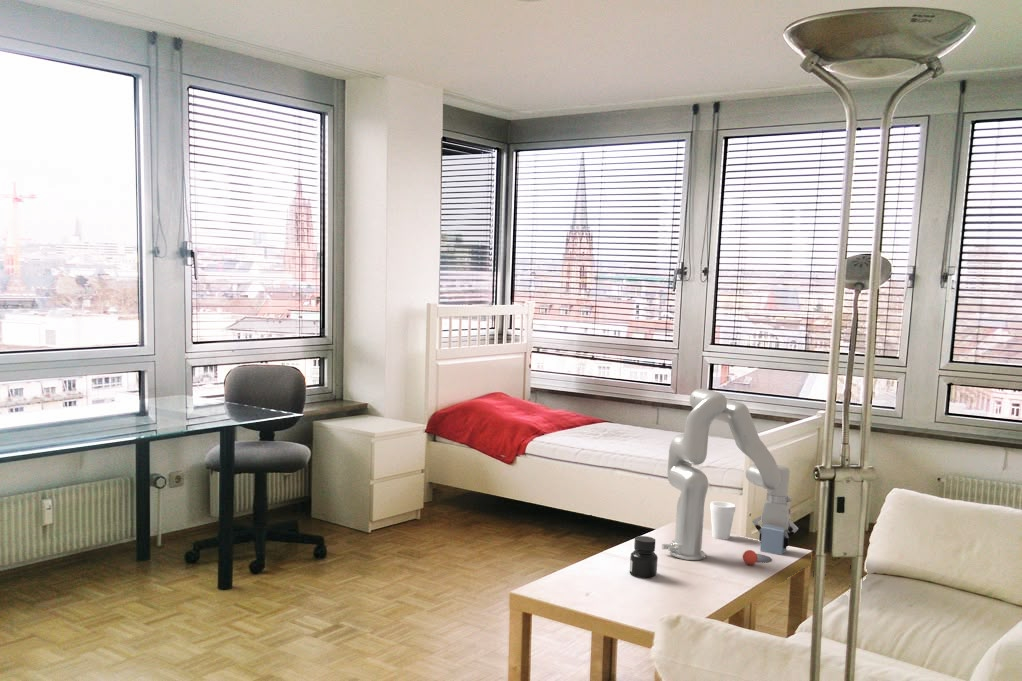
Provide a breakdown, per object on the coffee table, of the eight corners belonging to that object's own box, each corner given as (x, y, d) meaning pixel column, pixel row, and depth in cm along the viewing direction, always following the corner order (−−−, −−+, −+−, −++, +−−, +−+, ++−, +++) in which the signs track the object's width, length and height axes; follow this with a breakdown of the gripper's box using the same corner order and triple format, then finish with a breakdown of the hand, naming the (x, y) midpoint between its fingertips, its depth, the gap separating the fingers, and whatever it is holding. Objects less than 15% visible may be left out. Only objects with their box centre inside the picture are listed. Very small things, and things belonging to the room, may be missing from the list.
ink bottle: (640, 568, 289) (642, 533, 288) (662, 575, 283) (664, 539, 282) (623, 574, 282) (625, 538, 281) (645, 581, 276) (648, 545, 275)
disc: (752, 563, 300) (752, 562, 300) (737, 554, 310) (737, 553, 310) (777, 562, 303) (777, 561, 303) (762, 553, 312) (762, 552, 312)
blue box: (781, 555, 312) (783, 531, 311) (760, 550, 315) (761, 527, 315) (786, 550, 318) (787, 527, 318) (765, 546, 322) (767, 523, 322)
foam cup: (703, 534, 333) (705, 502, 333) (722, 532, 337) (724, 500, 337) (719, 541, 325) (721, 508, 324) (738, 539, 329) (740, 506, 328)
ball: (746, 566, 296) (747, 552, 295) (739, 562, 301) (740, 548, 300) (759, 566, 297) (760, 552, 297) (752, 561, 302) (753, 548, 301)
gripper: (803, 501, 314) (799, 547, 316) (756, 493, 323) (752, 538, 324) (798, 505, 308) (795, 552, 309) (750, 496, 317) (747, 543, 318)
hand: (773, 545), depth 317 cm, fingers closed on blue box, 7 cm apart
